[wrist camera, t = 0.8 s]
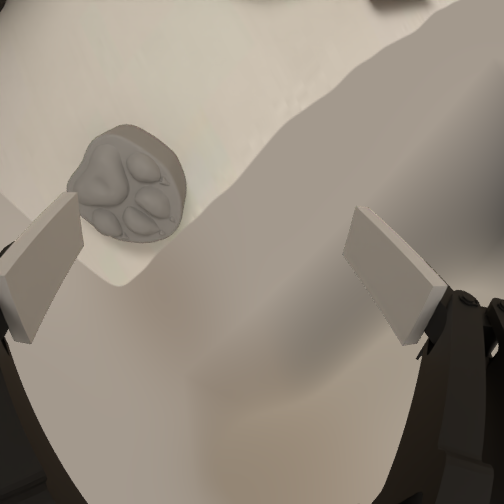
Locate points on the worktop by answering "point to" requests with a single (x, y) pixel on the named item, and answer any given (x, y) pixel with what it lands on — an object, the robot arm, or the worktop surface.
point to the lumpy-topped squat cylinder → (130, 186)
